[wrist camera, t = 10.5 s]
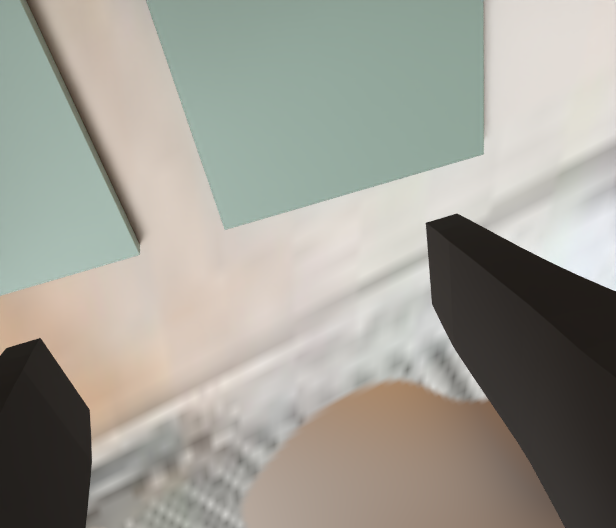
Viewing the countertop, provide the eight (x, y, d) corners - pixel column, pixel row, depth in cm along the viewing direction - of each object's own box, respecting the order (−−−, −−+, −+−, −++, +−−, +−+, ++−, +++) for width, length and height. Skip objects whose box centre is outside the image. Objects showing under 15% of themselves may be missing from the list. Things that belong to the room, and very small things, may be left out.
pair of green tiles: (-135, 325, 19) (-142, 337, 19) (-380, 63, 14) (-399, 70, 13) (476, 147, 21) (483, 154, 20) (472, -154, 15) (483, -154, 15)
